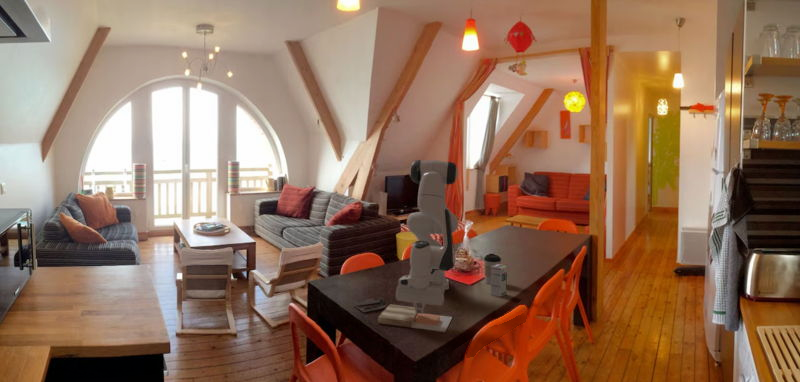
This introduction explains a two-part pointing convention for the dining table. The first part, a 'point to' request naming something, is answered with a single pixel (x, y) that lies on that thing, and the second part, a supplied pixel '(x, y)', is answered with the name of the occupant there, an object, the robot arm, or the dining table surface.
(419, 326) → the mat
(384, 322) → the beige square slab
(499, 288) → the syrup box
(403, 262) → the dining table surface
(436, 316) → the pink flat block
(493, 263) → the coffee cup
